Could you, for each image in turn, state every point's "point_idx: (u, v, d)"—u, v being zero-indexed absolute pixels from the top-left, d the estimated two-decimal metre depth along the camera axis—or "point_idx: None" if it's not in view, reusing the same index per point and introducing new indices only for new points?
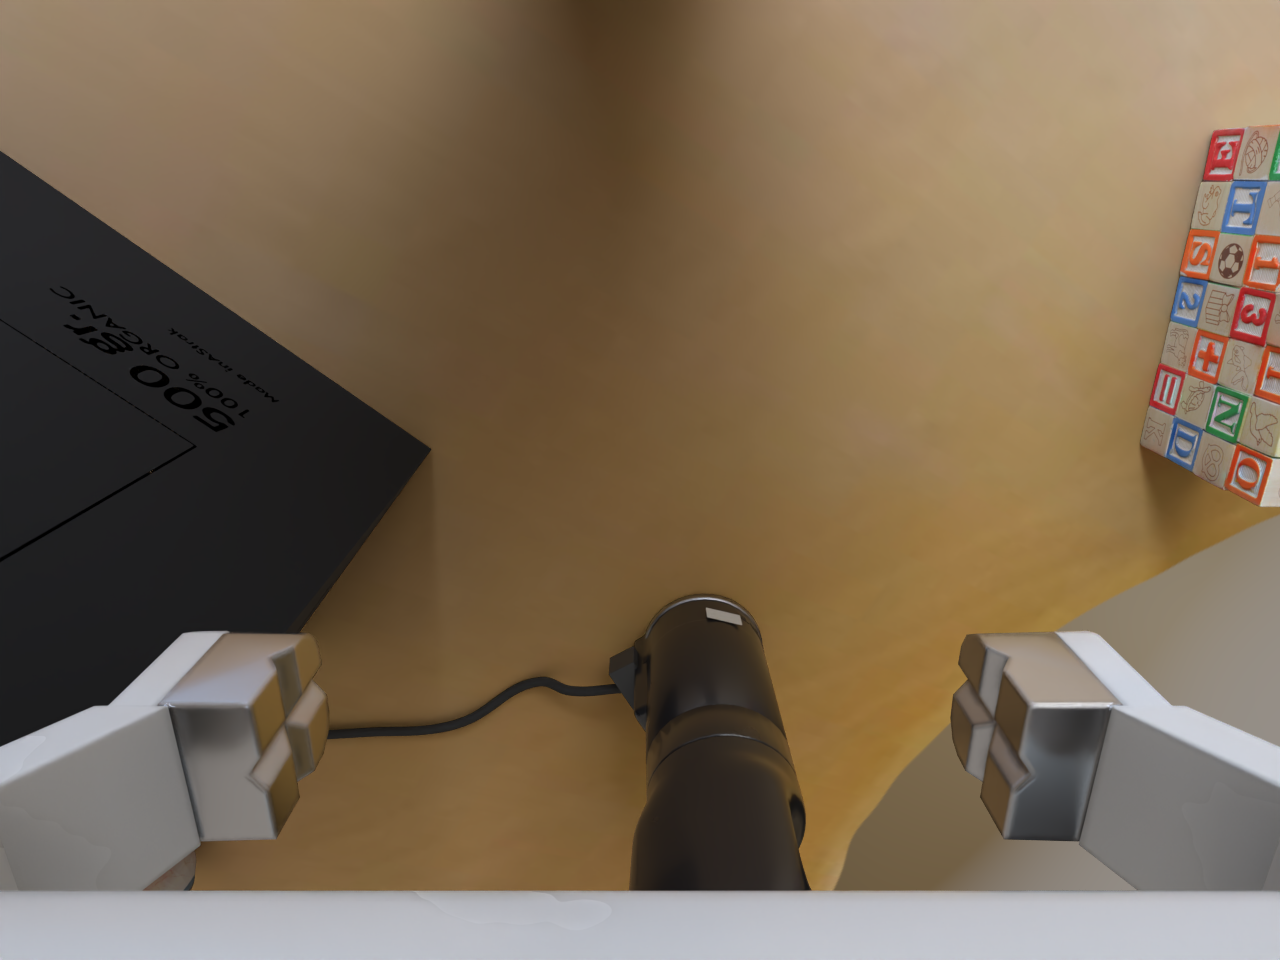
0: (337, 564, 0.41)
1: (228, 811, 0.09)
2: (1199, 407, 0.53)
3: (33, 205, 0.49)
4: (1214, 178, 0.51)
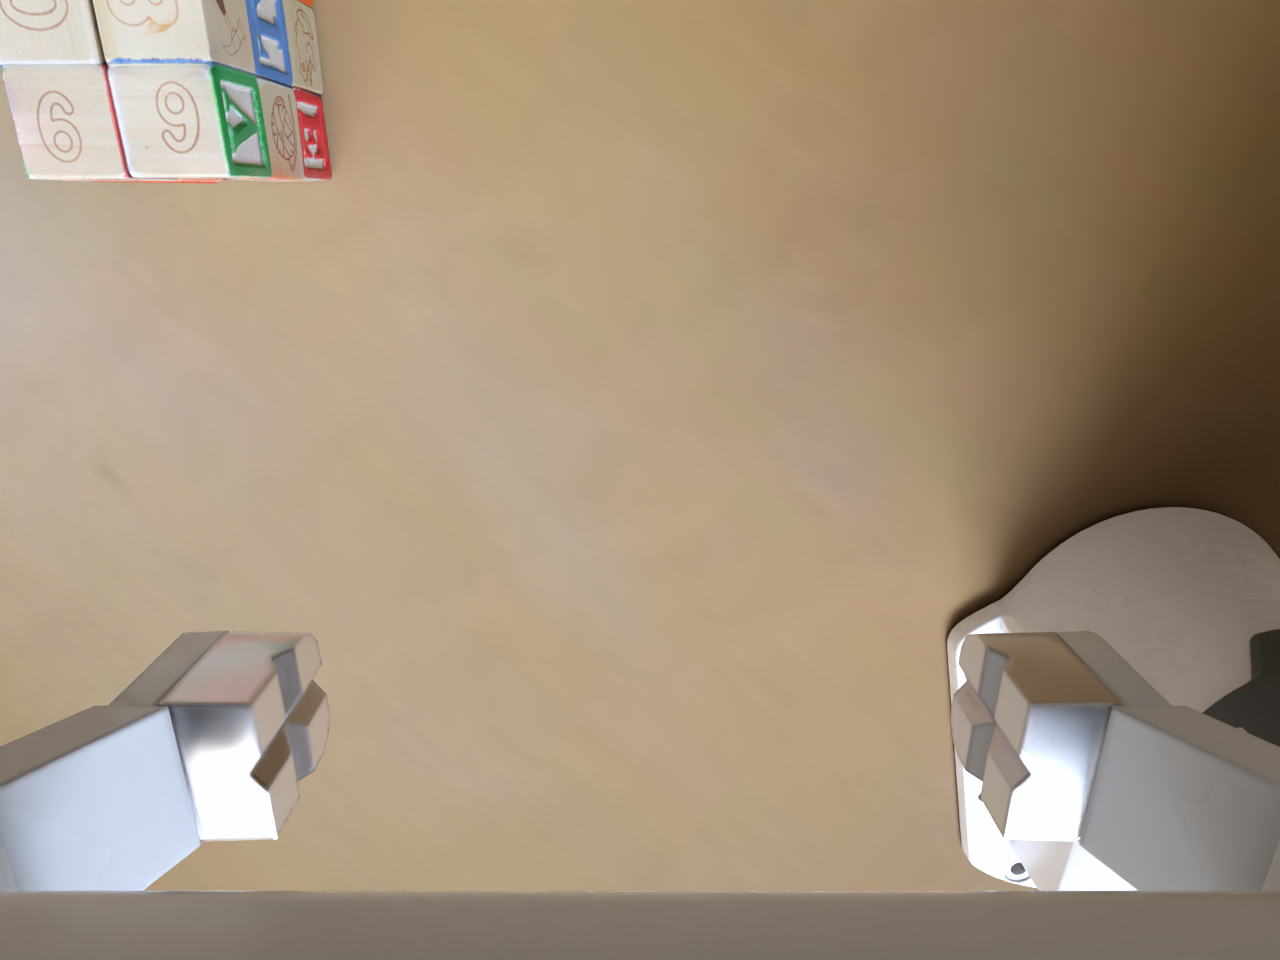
0: None
1: (228, 811, 0.09)
2: None
3: None
4: (311, 98, 0.30)
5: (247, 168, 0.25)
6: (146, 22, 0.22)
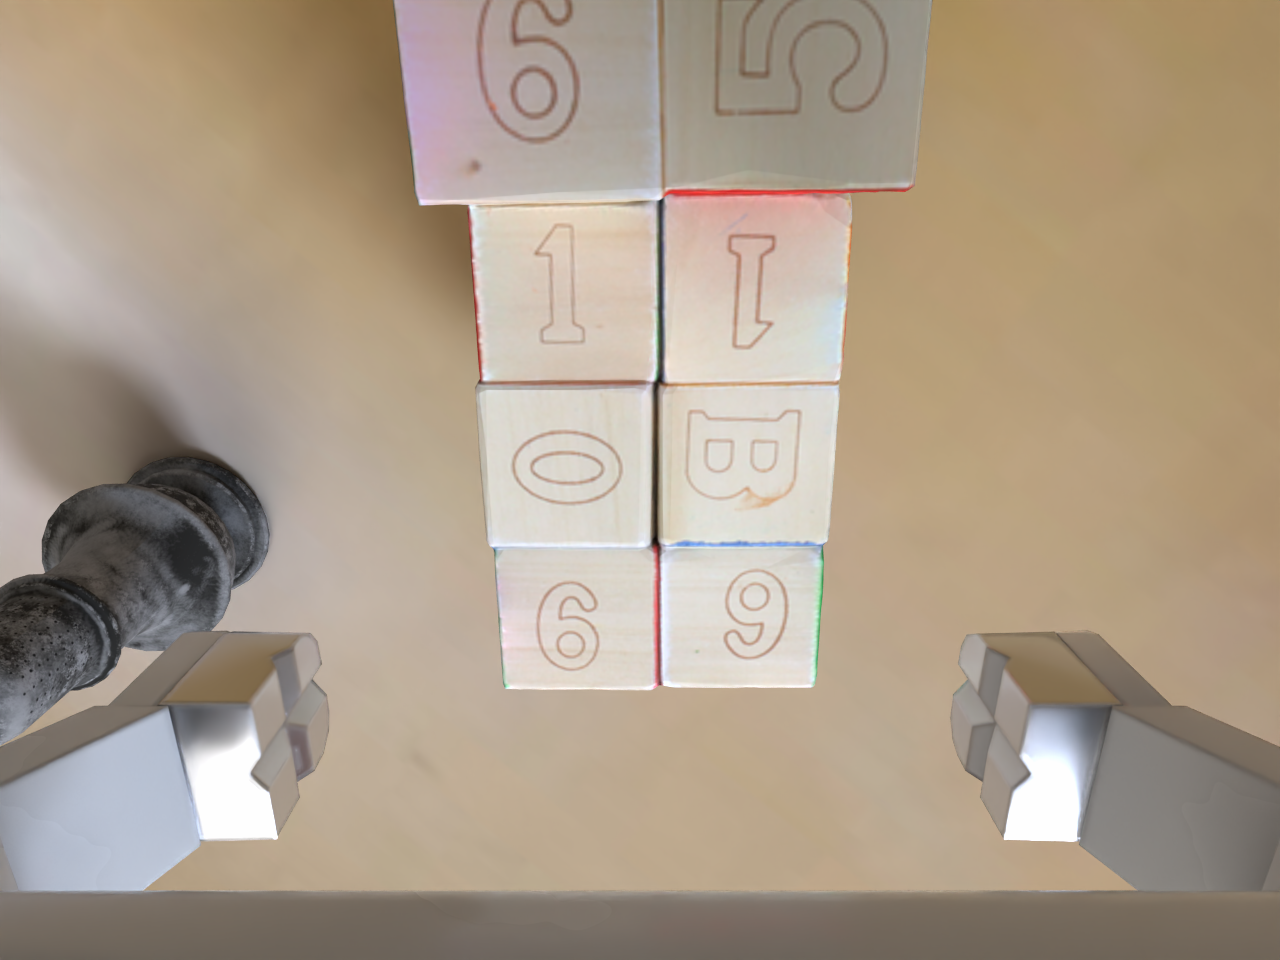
0: None
1: (228, 811, 0.09)
2: None
3: None
4: None
5: None
6: (741, 495, 0.14)
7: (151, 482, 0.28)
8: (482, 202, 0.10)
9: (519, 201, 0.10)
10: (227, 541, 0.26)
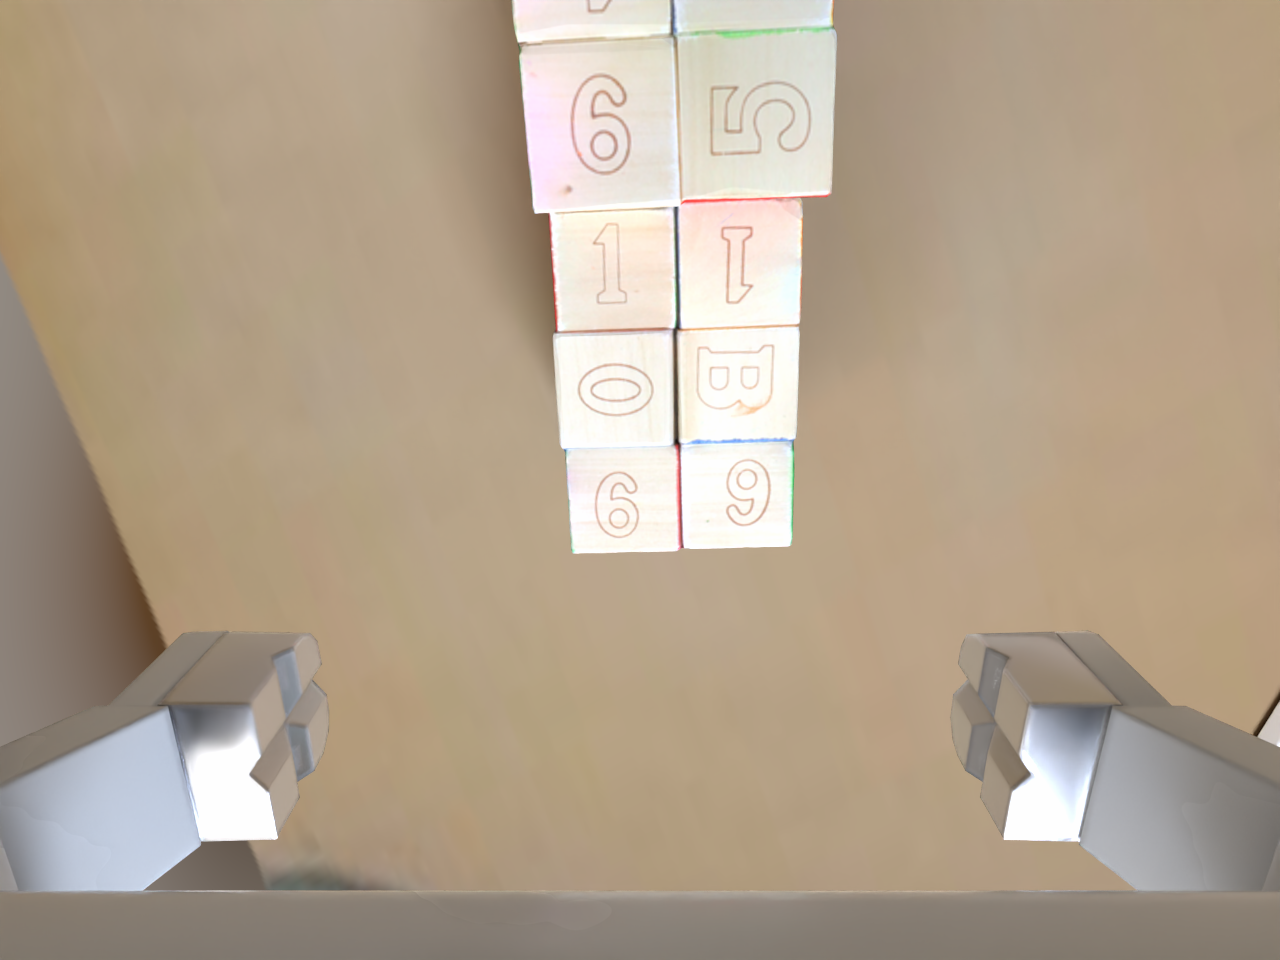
0: None
1: (228, 811, 0.09)
2: None
3: None
4: None
5: None
6: (735, 405, 0.21)
7: None
8: (572, 210, 0.16)
9: (595, 209, 0.16)
10: None
